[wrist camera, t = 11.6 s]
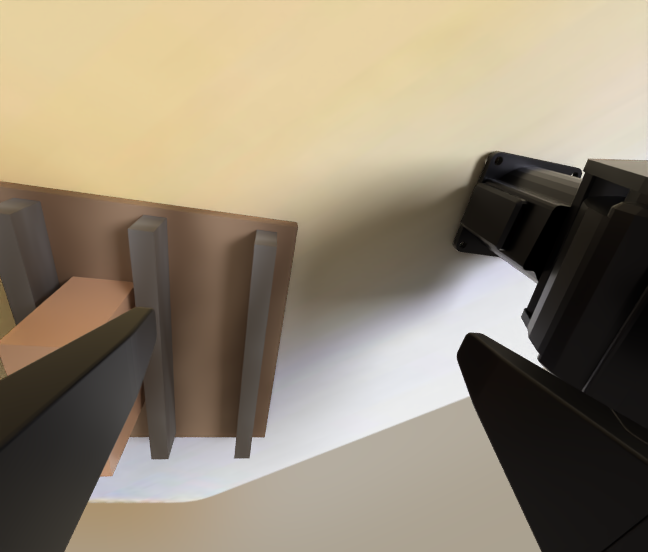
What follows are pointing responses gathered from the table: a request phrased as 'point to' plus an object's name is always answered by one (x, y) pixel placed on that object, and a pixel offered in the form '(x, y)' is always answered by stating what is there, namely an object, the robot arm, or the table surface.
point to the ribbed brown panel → (166, 297)
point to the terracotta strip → (72, 333)
